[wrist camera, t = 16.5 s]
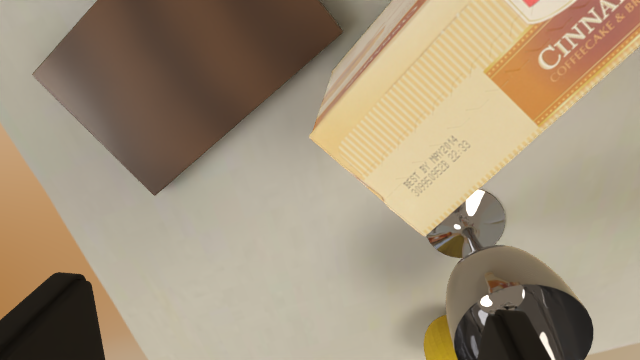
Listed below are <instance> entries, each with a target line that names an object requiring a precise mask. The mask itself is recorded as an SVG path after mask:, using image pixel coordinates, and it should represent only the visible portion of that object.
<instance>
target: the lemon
mask: <svg viewBox="0 0 640 360" xmlns="http://www.w3.org/2000/svg"><path fill="white" fill-rule="evenodd" d="M424 351H425V356H426V360H458V359H457V356H456V354H455V351H454V348H453V345H452V341H451V338H450V333H449V329H448V324H447V316H446V315H444V316H441V317H439V318H437V319H436V320H434V321H433V322H432V323H431V324H430V325H429V327H428V329H427V331H426V333H425V338H424Z"/></svg>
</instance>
